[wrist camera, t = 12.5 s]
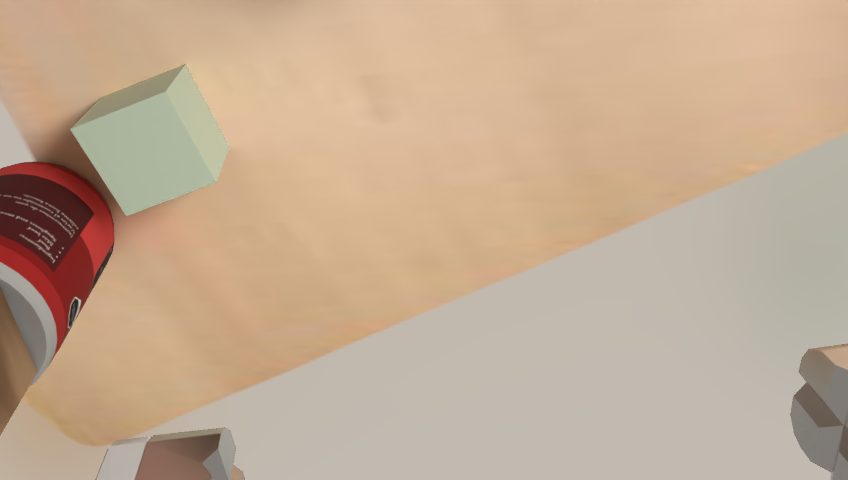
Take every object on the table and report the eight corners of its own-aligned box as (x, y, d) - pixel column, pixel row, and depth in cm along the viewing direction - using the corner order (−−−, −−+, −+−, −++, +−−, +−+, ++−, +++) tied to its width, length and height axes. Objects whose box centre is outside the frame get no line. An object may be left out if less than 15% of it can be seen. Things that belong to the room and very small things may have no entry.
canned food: (18, 292, 43) (-75, 418, 34) (-51, 174, 39) (-179, 278, 30) (141, 264, 43) (83, 382, 34) (83, 142, 39) (-1, 238, 30)
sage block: (101, 97, 38) (69, 129, 34) (186, 63, 38) (165, 91, 33) (149, 176, 41) (126, 216, 36) (230, 146, 40) (216, 182, 36)
